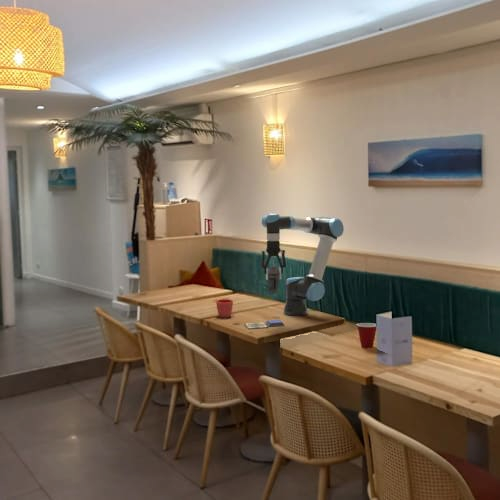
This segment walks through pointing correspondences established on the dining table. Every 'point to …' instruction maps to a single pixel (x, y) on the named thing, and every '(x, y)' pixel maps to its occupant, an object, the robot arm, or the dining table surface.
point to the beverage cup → (273, 278)
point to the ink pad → (274, 323)
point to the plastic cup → (366, 334)
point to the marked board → (256, 325)
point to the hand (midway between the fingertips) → (273, 279)
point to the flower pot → (224, 307)
